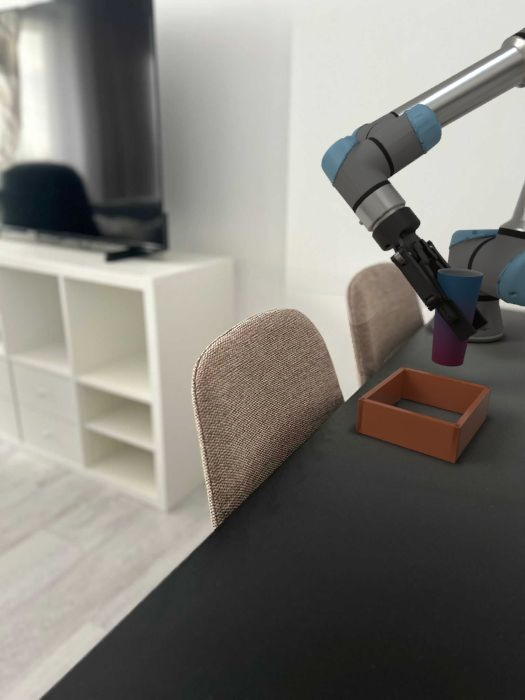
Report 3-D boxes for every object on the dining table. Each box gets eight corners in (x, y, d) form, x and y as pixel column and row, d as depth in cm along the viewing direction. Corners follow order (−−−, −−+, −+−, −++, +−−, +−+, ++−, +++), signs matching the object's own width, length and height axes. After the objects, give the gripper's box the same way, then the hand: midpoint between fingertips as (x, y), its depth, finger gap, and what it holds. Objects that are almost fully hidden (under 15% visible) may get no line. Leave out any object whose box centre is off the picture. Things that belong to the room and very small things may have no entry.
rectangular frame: (398, 395, 83) (402, 366, 82) (486, 418, 76) (491, 387, 74) (355, 431, 72) (358, 399, 70) (454, 463, 64) (460, 427, 62)
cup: (472, 359, 87) (486, 271, 82) (464, 371, 81) (479, 278, 76) (431, 351, 90) (442, 266, 85) (421, 363, 84) (433, 273, 79)
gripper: (394, 230, 95) (472, 331, 91) (346, 239, 80) (437, 360, 77) (426, 201, 90) (509, 307, 87) (381, 206, 76) (479, 333, 72)
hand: (475, 331), depth 82 cm, fingers closed on cup, 6 cm apart
